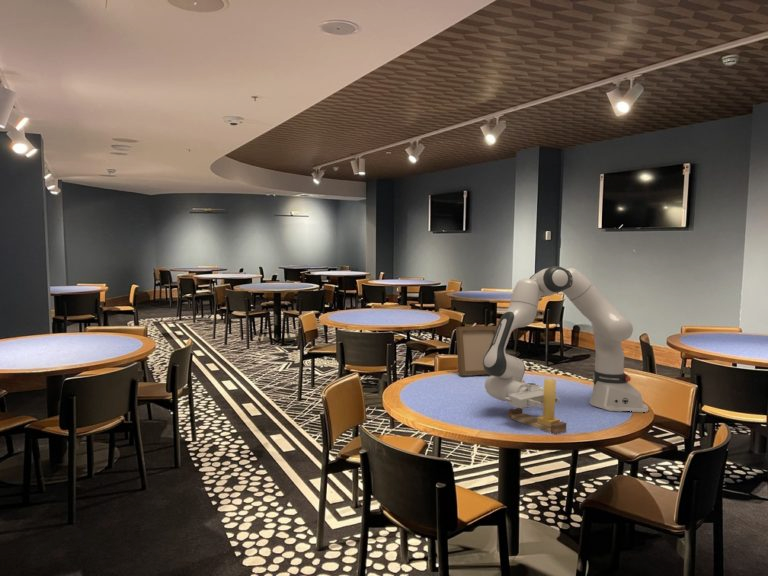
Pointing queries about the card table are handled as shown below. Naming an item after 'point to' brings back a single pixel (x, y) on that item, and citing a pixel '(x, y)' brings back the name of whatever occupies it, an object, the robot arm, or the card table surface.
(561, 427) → the rail
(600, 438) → the card table surface
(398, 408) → the card table surface
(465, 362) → the photo frame
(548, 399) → the keeper
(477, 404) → the card table surface
